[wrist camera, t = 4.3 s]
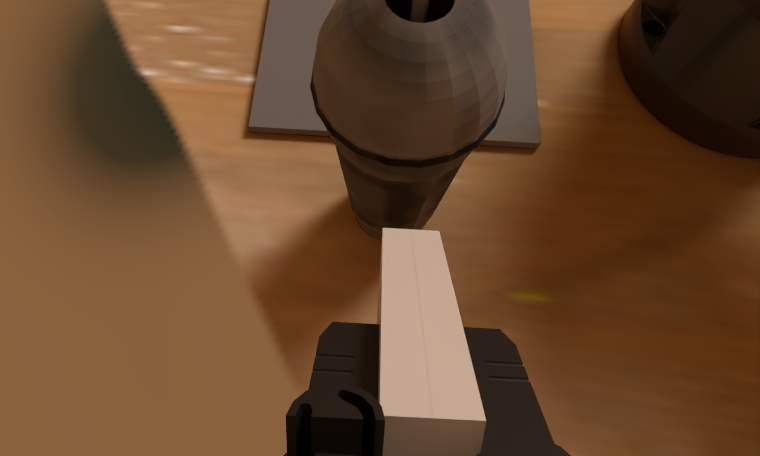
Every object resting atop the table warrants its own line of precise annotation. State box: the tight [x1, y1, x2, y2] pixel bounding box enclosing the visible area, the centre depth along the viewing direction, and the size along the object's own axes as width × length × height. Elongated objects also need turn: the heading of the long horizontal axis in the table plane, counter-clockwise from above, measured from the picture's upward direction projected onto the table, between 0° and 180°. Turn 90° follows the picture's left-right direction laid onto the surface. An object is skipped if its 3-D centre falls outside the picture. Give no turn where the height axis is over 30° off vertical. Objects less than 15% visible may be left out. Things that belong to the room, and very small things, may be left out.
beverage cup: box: [310, 0, 507, 240], centre depth 19 cm, size 7×7×20 cm
